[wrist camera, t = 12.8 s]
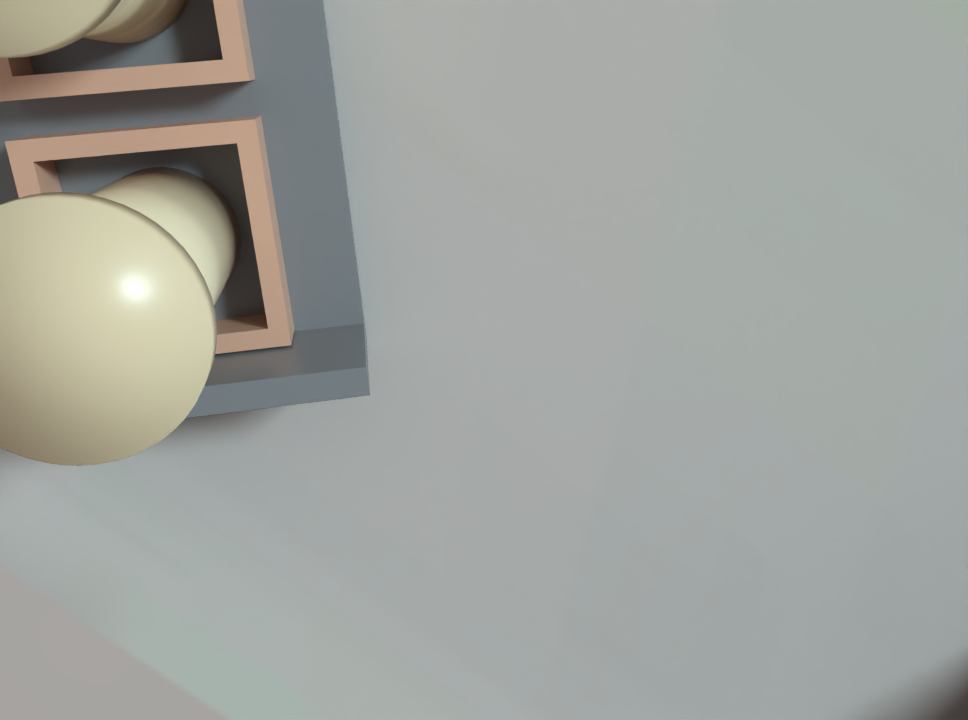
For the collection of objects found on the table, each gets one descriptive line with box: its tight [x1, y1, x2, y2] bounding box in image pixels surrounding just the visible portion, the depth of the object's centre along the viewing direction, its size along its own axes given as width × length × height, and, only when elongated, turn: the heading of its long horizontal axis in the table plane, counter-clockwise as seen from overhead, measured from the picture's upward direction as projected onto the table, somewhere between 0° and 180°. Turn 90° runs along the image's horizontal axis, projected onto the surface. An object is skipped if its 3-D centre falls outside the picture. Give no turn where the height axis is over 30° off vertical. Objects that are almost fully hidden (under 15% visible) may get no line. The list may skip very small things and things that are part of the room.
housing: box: [0, 0, 370, 466], centre depth 25 cm, size 13×19×13 cm
